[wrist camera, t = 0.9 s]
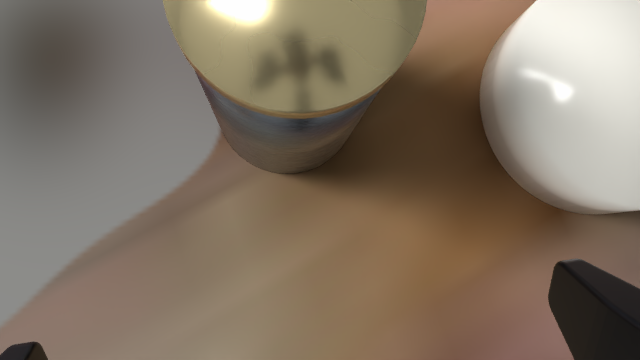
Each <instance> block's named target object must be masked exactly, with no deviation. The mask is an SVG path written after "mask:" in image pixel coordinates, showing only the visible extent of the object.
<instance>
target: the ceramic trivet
mask: <svg viewBox="0 0 640 360" xmlns="http://www.w3.org/2000/svg"><path fill="white" fill-rule="evenodd" d="M480 112H481V118H482V123H483V127H484V130H485V134H486V137H487V139H488V142H489V144H490V146H491V148H492V151H493V152H494V154H495V156H496V157H497V159H498V161H499V162H500V164H501V165H502V166H503V168H504V169H505V170H506V172H507V173H508V174H509V175H510V176H511V177H512V178H513V179H514V180H515V181H516V182H517V183H518V184H519V185H520V186H521V187H522V188H523V189H525V190H526V191H527V192H529V193H530V194H531V195H533V196H534V197H536V198H538V199H539V200H541V201H543V202H545V203H547V204H549V205H552V206H554V207H556V208H559V209H562V210H566V211H569V212H574V213H581V214H609V213H618V212H628V211H637V210H640V0H537V1H535V2H534V3H533V4H532V5H531V6H530V7H529V8H528V9H527V10H526V11H525V12H524V13H523V14H522V15H521V16H520V17H519V18H518V19H516V20H515V21H514V22H513V23H512V24H511V25H510V26H509V27H508V28H507V29H506V30H505V31H504V32H503V34H502V35H501V36H500V38H499V39H498V40H497V41H496V43H495V45H494V46H493V48H492V50H491V52H490V54H489V56H488V58H487V61H486V64H485V66H484V70H483V74H482V78H481V85H480Z"/></svg>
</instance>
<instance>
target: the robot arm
mask: <svg viewBox="0 0 640 360" xmlns="http://www.w3.org/2000/svg"><path fill="white" fill-rule="evenodd" d="M548 300H549V305H550V308H551V311H552V313H553V315H554V317H555V319H556V321H557V323H558V326H559V328H560V330H561V332H562V334H563V336H564V338H565V341H566V343H567V345H568V347H569V349H570V351H571V353H572V355H573V358H574V360H640V289H639V288H637V287H635V286H633V285H631V284H629V283H627V282H625V281H623V280H621V279H619V278H617V277H615V276H614V275H612V274H610V273H608V272H606V271H604V270H602V269H600V268H598V267H596V266H594V265H592V264H590V263H588V262H586V261H584V260H581V259H571V260H564V261H560V262H557V264H556V265H555V267H554V270H553V275H552V280H551V284H550V289H549V294H548ZM0 360H48V358H47V356H46V354H45V352H44V350H43V348H42V346H41V345H40V344H39V343H38V342H27V343H21V344H15V345H12V346H10V347H9V348H7V349H6V350H5V351H4V352H3V353H2V354H1V355H0Z"/></svg>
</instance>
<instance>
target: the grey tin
mask: <svg viewBox="0 0 640 360" xmlns="http://www.w3.org/2000/svg"><path fill="white" fill-rule="evenodd" d="M163 3H164V8H165V12H166V16H167V19H168V22H169V24H170V27H171V29H172V32H173V34H174V36H175V39H176V41H177V43H178V45H179V47H180V48H181V50H182V52H183V54H184V56H185V57H186V59H187V60H188V62H189V63H190V65H191V66H192V67H193V68H194V70H195V72H196V74H197V77H198V79H199V81H200V83H201V86H202V88H203V90H204V92H205V95H206V96H207V99H208V101H209V103H210V105H211V108H212V110H213V112H214V114H215V117H216V119H217V121H218V123H219V126H220V128H221V130H222V132H223V134H224V136H225V138H226V140H227V141H228V143H229V144H230V146H231V147H232V148H233V149H234V150H235V151H236V152H237V153H238V154H239V156H241V157H242V158H243V159H245V160H246V161H247V162H249V163H251V164H252V165H254V166H256V167H258V168H261V169H263V170H267V171H270V172H275V173H285V174H291V173H300V172H304V171H308V170H311V169H313V168H316V167H318V166H320V165H322V164H323V163H325V162H326V161H328V160H329V159H331V158H332V157H333V156H334V155H335V154H336V153H337V152H338V151H339V150H340V149H341V147H342V146H343V145H344V143H345V142H346V140H347V139H348V137H349V136H350V134H351V133H352V131H353V130H354V128H355V127H356V125H357V124H358V122H359V121H360V119H361V118H362V116H363V115H364V113H365V112H366V110H367V109H368V107H369V106H370V104H371V103H372V101H373V99H374V98H375V96H376V95H377V93H378V92H379V90H380V89H381V87H382V86H384V85H385V84H386V83H387V82H388V81H389V80H390V79H391V77H392V76H393V75H394V74H395V72H396V71H397V70H398V69H399V67H400V66H401V65H402V63H403V62H404V60H405V59H406V57H407V56H408V54H409V52H410V51H411V49H412V47H413V45H414V44H415V42H416V39H417V37H418V35H419V32H420V30H421V27H422V23H423V20H424V16H425V12H426V3H427V0H163Z"/></svg>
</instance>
